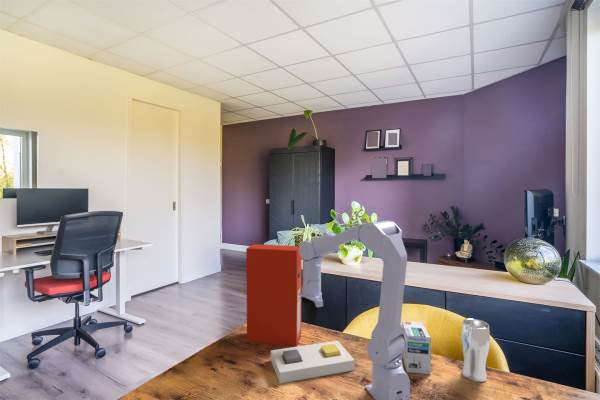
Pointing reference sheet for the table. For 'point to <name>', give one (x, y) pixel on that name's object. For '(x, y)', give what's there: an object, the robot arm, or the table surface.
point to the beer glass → (475, 349)
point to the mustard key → (330, 350)
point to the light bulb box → (417, 348)
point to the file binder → (273, 294)
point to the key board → (311, 363)
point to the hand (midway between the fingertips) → (311, 321)
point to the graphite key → (291, 356)
